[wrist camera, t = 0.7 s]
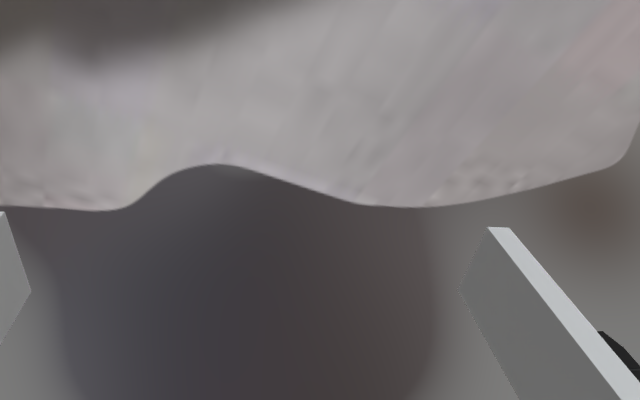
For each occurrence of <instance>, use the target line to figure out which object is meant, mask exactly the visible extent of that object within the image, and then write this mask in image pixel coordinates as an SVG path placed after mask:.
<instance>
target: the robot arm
mask: <svg viewBox="0 0 640 400" xmlns="http://www.w3.org/2000/svg"><path fill="white" fill-rule="evenodd" d="M458 292H459V294H460V295H461V297H462V299H463V301H464V302H465V304H466V306H467V308H468V310H469V311H470V313H471V315H472V317H473V318H474V320H475V322H476V324H477V325H478V327H479V329H480V331H481V332H482V334H483V336H484V338H485V340H486V341H487V343H488V345H489V346H490V348H491V350H492V352H493V354H494V356H495V357H496V359H497V361H498V363H499V364H500V366H501V368H502V370H503V371H504V373H505V375H506V376H507V378H508V380H509V382H510V384H511V386H512V387H513V389H514V391H515V393H516V394H517V396H518V398H519V400H640V366H639V365H638V363H637V362H636V361H635V360H634V359H633V358H632V357H631V355H630V354H629V353H628V352H627V351H626V350H625V349H624V348H623V347H622V346H621V345H619V344H618V343H617V342H616V341H614V340H613V339H612V338H610V337H609V336H608V335H606V334H605V333H604V332H603V331H596V330H595V329H594V328H593V326H592V325H591V324H590V323H589V322H588V321H587V320H586V318H585V317H584V316H583V315H582V313H581V312H580V311H579V310H578V309H577V308H576V306H575V305H574V304H573V303H572V302H571V300H570V299H569V298H568V297H567V296H566V295H565V293H564V292H563V291H562V290H561V289H560V288H559V286H558V285H557V284H556V283H555V282H554V281H553V279H552V278H551V277H550V276H549V274H548V273H547V272H546V271H545V270H544V269H543V267H542V266H541V265H540V264H539V263H538V262H537V260H536V259H535V258H534V257H533V256H532V254H531V253H530V252H529V251H528V250H527V248H526V247H525V246H524V245H523V244H522V243H521V241H520V240H519V239H518V238H517V237H516V235H515V234H514V233H513V232H512V231H511V230H510V228H501V227H487V228H486V230H485V233H484V235H483V237H482V239H481V241H480V243H479V245H478V247H477V250H476V251H475V254H474V256H473V258H472V260H471V262H470V264H469V266H468V268H467V271H466V273H465V275H464V277H463V279H462V281H461V284H460V285H459V287H458ZM30 293H31V288H30V285H29V282H28V279H27V276H26V273H25V271H24V268H23V264H22V262H21V259H20V256H19V253H18V250H17V247H16V244H15V241H14V238H13V235H12V232H11V229H10V226H9V223H8V220H7V217H6V214H5V212H0V345H1V343H2V341H3V340H4V338H5V336H6V334H7V333H8V331H9V330H10V328H11V326H12V324H13V323H14V321H15V319H16V317H17V316H18V314H19V312H20V311H21V309H22V307H23V305H24V304H25V302H26V300H27V298H28V297H29V295H30Z"/></svg>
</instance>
